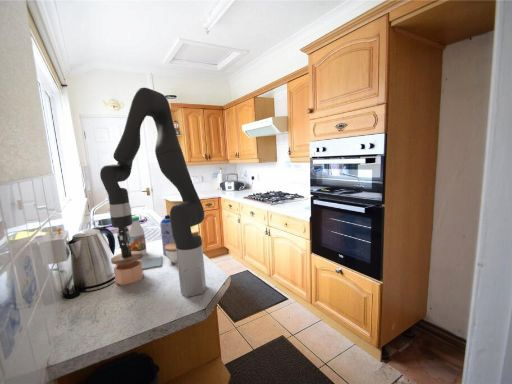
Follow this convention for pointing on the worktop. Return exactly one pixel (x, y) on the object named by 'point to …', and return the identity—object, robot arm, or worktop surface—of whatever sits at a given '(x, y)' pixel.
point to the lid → (124, 260)
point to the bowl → (128, 272)
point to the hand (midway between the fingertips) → (126, 254)
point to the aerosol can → (166, 232)
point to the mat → (152, 263)
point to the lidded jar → (171, 252)
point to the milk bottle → (137, 236)
